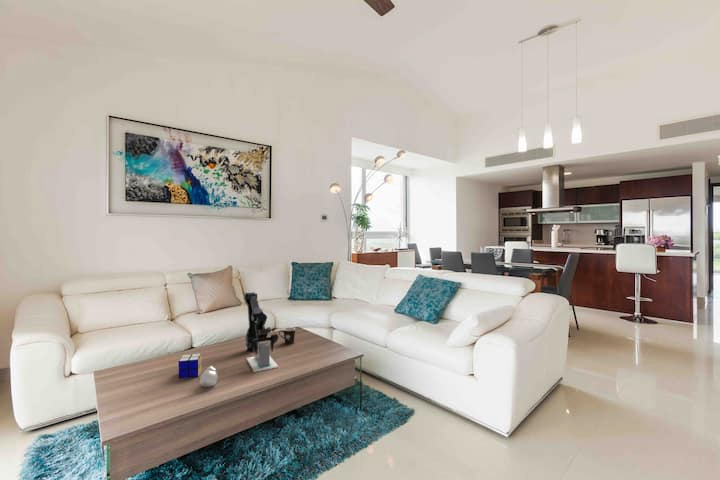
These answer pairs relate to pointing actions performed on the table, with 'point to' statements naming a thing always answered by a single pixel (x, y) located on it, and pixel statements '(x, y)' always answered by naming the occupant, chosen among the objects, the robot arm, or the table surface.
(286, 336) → the coffee mug
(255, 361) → the baseplate
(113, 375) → the table surface
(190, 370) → the puzzle cube
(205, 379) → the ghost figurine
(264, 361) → the pillar
